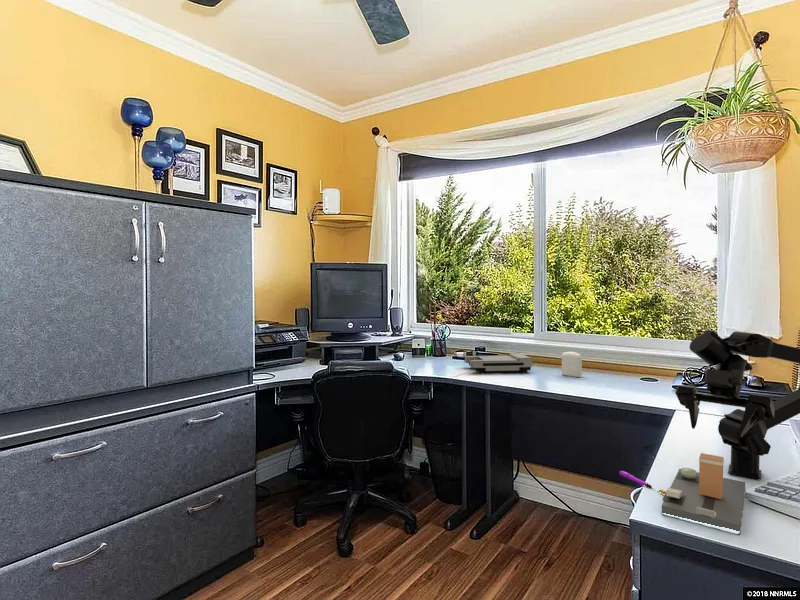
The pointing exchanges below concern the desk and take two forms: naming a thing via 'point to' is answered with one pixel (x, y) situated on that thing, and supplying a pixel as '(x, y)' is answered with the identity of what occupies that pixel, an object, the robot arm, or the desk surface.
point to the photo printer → (572, 364)
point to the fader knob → (711, 475)
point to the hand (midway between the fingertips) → (715, 431)
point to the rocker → (673, 493)
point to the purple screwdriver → (637, 480)
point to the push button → (688, 473)
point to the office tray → (500, 363)
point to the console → (707, 502)
